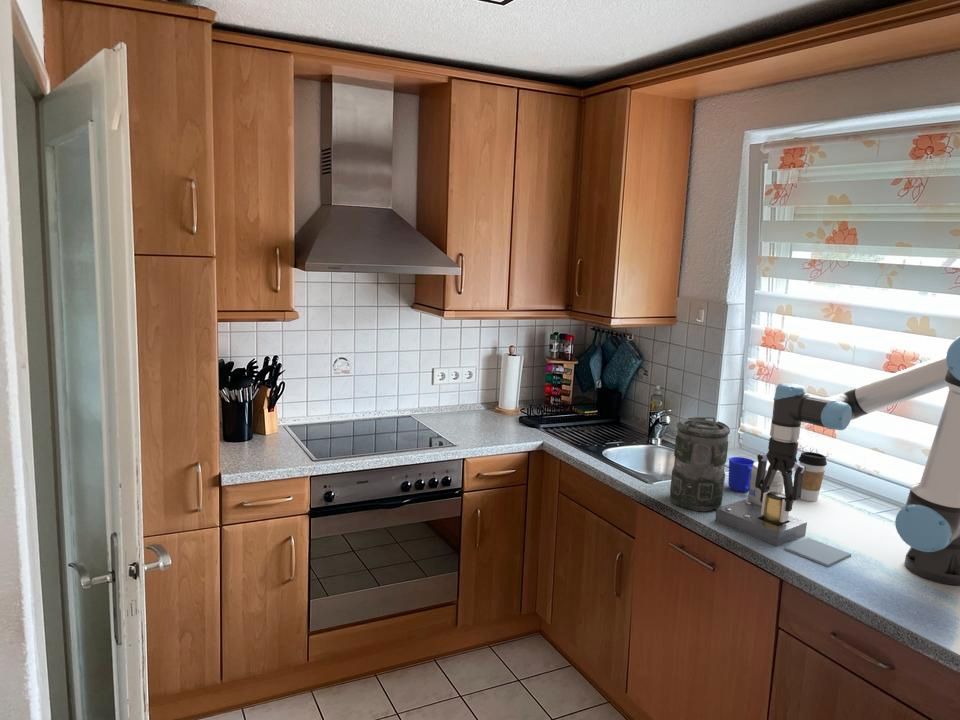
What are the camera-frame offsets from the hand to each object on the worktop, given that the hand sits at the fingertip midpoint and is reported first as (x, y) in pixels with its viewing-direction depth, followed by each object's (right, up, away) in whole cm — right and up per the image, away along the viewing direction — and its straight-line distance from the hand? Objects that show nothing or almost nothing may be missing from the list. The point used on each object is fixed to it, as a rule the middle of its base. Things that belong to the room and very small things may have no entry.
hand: (774, 517), depth 203 cm
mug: (+3, +1, +34) cm, 34 cm away
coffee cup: (+24, -1, +31) cm, 39 cm away
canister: (-16, 0, +22) cm, 27 cm away
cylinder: (0, -4, +1) cm, 4 cm away
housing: (-3, -4, +4) cm, 6 cm away
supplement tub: (+4, -2, +17) cm, 18 cm away
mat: (+7, -7, -11) cm, 15 cm away
